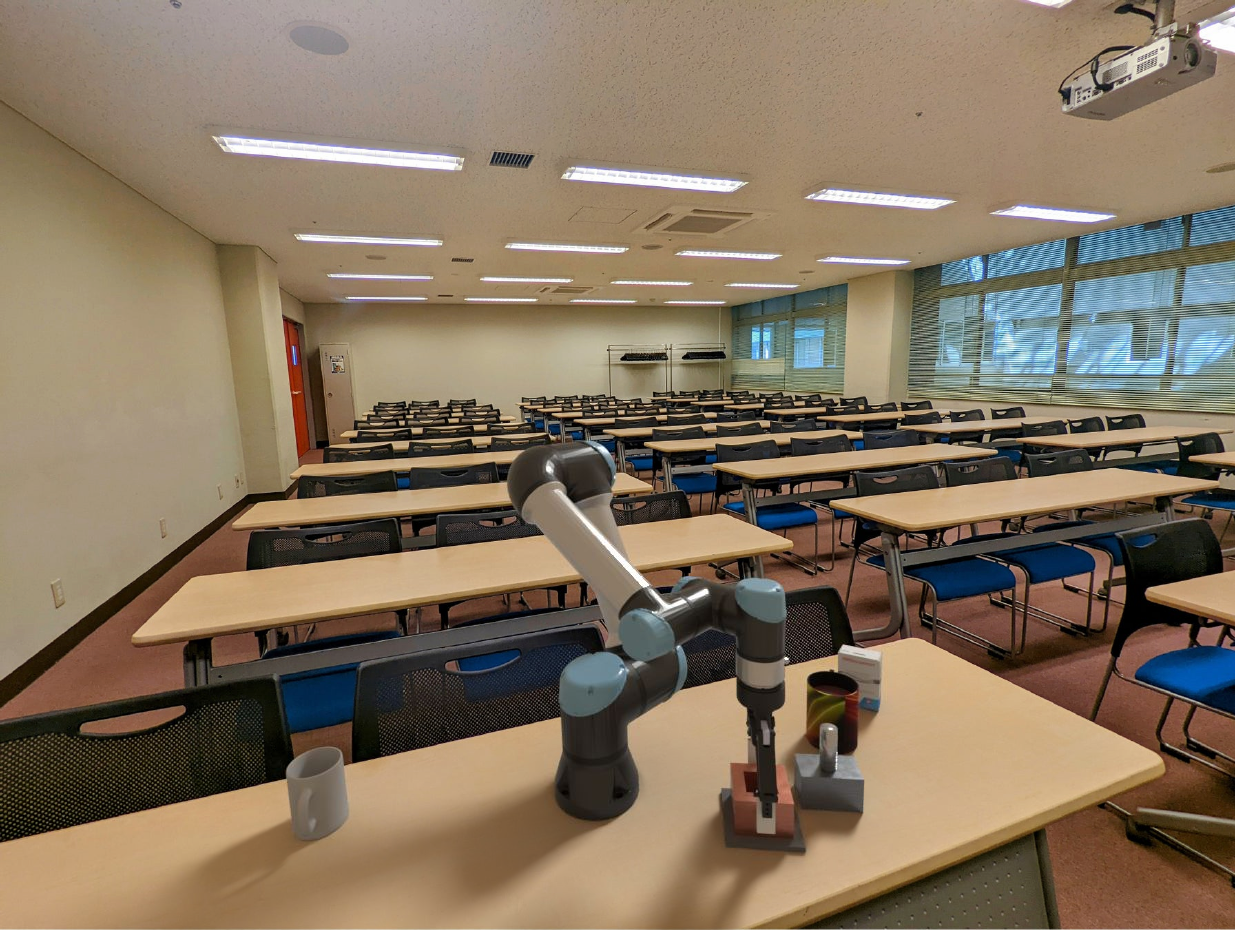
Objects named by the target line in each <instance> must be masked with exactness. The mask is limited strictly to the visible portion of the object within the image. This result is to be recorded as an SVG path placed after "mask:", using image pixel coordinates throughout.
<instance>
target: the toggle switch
mask: <svg viewBox="0 0 1235 930" xmlns="http://www.w3.org/2000/svg"><path fill="white" fill-rule="evenodd" d="M837 740H838V729H837V727H836V726H835V725H833V724H829V723H823V724H821V725H820V750H819V754H818V753H817V754H816V753H796V752H795V753H794V775H793V776H794V777H793V778H794V779H793V780H794V781H793V782H794V783H793V784H794V788H795V791H796V796H797V799H798V803H799V807H800V810H808V811H809V810H811V811H827V812H843V813H846V812H847V813H861V814H863V813H864V804H865V803H864V800H865V799H864V797H865V779H864V776H863V774H862V771H861V770H860V767H859V765H858V763H857V761H856V758H855V756H854V755H837Z"/></svg>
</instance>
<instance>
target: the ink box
mask: <svg viewBox="0 0 1235 930" xmlns="http://www.w3.org/2000/svg"><path fill="white" fill-rule="evenodd" d="M882 667H883V652H881V651H876V650H870V649H866V648H862V647H858V646H857V647H856V646H852V645H846V644H842V645H841V647H840V648H839V650H838V652H837V672H838V673H842V674H845V675H847V676H849V677H851V678H853V679H854V680H855V681H856V682H857V683H858V685H859V708H862V709H867V710H870V711H874V712H879V711H880V710H879V709H880V705H881V702H882V701H881V699H882V677H883V676H882V672H883V671H882V670H883V668H882Z"/></svg>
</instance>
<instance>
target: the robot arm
mask: <svg viewBox="0 0 1235 930" xmlns="http://www.w3.org/2000/svg"><path fill="white" fill-rule="evenodd" d="M616 475H617V467H616V463H615V461H614V458H613V456H612V455H611V453H610V452H609V450H608V449H607V448H606V447H605V446H604V445H602V444H600V443H598V442H597V441H594V440H579V439H578V440H572V441H569V442H560V443H552V444H545V445H541V444H540V445H535V446H531V447H528V448H526V449H525V450H523V451H522V452H521V453H519V454H518V455H517V456H516V457H515V458H514V460H513V461H512V462H511V465H510V467H509V470H508V474H507V476H506V477H507V478H506V488H507V494H508V498H509V501H510V502H511V504H512V506H513V508H514V510H515V512H517V514H518V515H519V516H520V517H521V518H522V519H523V521H524V522H525V523H526V524H530V525H535V526H536V527H537V528H538V530H540V531H541V532H542V534H543V535H544V536H545V537H546V538H547V540H548V541H550V543H551V544H552V545H553V546H554V548H556V549H557V550H558V552H559V553H560V554H561V555H562V556H563V558H565V560H566V562H568V563H569V564H570V565H571V567H573V569H574V570H575V571H576V572H577V573H578V575H579V576H580V577H581V578H582V579H583V580H584V582H585V583H587V585H588V586H589V587H590V588H591V589H592V590H593V592H594V594H595V598H596V599H597V604H598V606H599V608H600V611H601V614H602V618H603V620H604V623H605V627H606V630H607V632H608V638H607V640H606V642H605V645H604V647H605V651H596V652H595V653H593V654H592V653H591V652H589V653H588V652H587V653H585V654H583V655H582V654H581V655H580V656H578V657H576V658H575V659H573V660H571V661H570V662H569V663H568V664H567V665H566V666H565V667H564V668H563V671H562V672H561V675H560V678H559V692H558V703H559V707H560V725H561V727H560V728H561V729H560V730H561V746H562V751H561V755H560V758H559V762H558V765H557V769H556V772H555V776H554V781H553V783H554V785H553V786H554V798H555V801H556V803H557V805H558V806H559V807H560V808H561V809H562V810H563V811H564V812H565V813H567V814H568V815H570V816H571V817H573V818H574V817H575V818H577V819H581V820H585V821H586V820H587V821H600V820H606V819H611V818H613V817H617V816H619V815H621V814H623V813H624V812H625V811H627V810H628V809H630V808H631V807H632V805H634V803H635V801H636V800H637V798H638V796H639V793H640V775H639V771H638V770H639V769H638V767H637V766H636V763H635V760H634V758H633V755H632V753H631V750H630V748H629V736H628V726H629V725H630V724H631V723H632V722H633V721H636V720H637V719H638V718H640V717H642V716H643V715H645V714H647V713H648V712H649V711H651V710H653V709H654V708H656V707H658V706H659V705H660V704H662V703H666V702H667V701H669V700H670V699H671V698H672V697H673V696H675V694H677V693H679V691H680V690H682V687H683V686H684V684H685V681H686V679H687V676H688V675H687V674H688V663H687V657H686V654H685V652H684V649H683V647H682V645H683V644H684V643H686V642H688V641H690V640H692V639H695V638H696V637H698V636H700V635H702V634H703V633H706V632H707V631H709V630H714V631H717V632H720V633H723V634H726V635H729V636H734V637H735V647H736V649H735V674H736V679H735V681H736V684H735V685H736V691H735V692H736V693H735V695H736V700H737V701H738V702H739V704H740V705H741V706H743V707H744V708H746V722H745V726H746V727H747V730H746V733H747V737H748V738H747V763H748V764H756V767H757V782H758V791H757V790H756V792H753V796H754V797H756V829H757V833H766V834H775V803H778V796H777V777H776V765H777V763H776V762H777V761H776V732H775V727H776V721H775V716H774V715H773V712H776V711H778V710H780V709H781V708H783V706H784V705H785V702H786V680H785V678H786V666H785V665H789V663H790V659H789V658H788V657H786V622H787V621H786V619H787V614H788V612H787V609H786V608H787V607H786V593H785V590H784V587H783V586H782V584H780V583H779V582H777V581H775V580H773V579H769V578H759V577H750V578H748V577H747V578H744V579H741V580H740V581H738V582H737V583H736V586H735V587H734V586H730V585H728V584H723V583H720V582H717V581H713V580H710V579H707V578H705V577H704V578H703V577H697V576H691V575H690V576H688V575H687V576H682V577H681V578H680V579H678V582H677V583H676V584H674V586H673V587H672V589H671V593H670V594H669V595H667V596H663V595H662V594H661V593H660V591H658V589H656V588H655V587H654V586H653V584H651V583H650V582H649V581H648V580H647V578H645V576H644V575H643V574H642V572H640V571H639V570H638V569H637V568H636V567H635V566H634V565H633V564H632V563H631V562H630V559H629V557H628V553H627V551H626V548H625V546H624V541H623V539H622V536H621V534H620V531H619V529H618V526H617V523H616V520H615V518H614V514H613V511H612V508H611V506H610V505H611V504H610V503H611V501H612V500H613V497H614V493H613V489H612V488H613V487H614V485H615V483H616V479H617V478H616Z"/></svg>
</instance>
